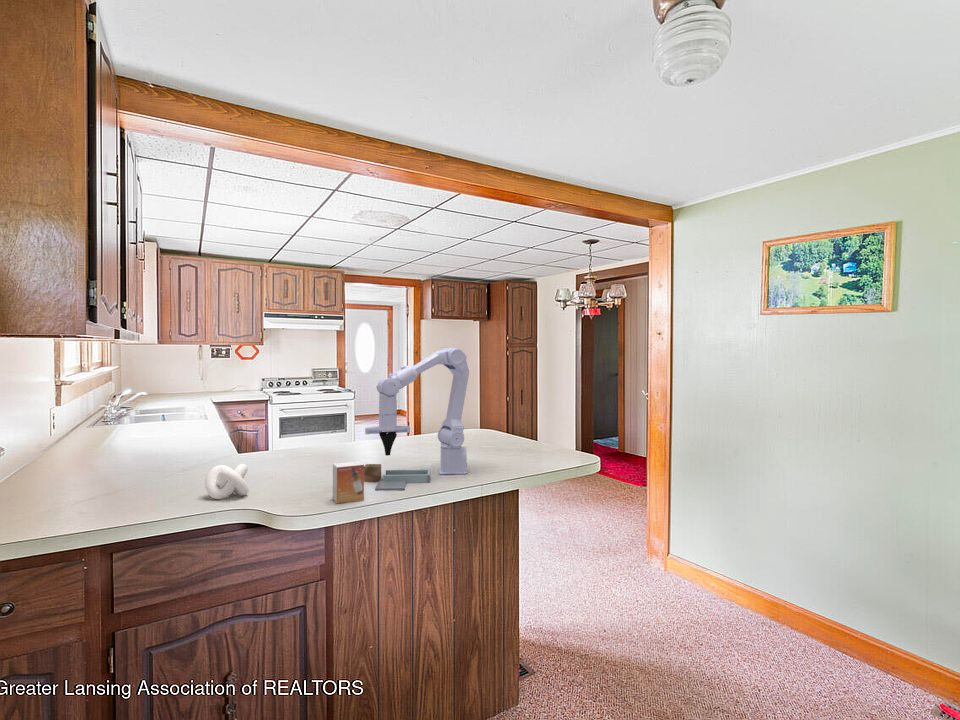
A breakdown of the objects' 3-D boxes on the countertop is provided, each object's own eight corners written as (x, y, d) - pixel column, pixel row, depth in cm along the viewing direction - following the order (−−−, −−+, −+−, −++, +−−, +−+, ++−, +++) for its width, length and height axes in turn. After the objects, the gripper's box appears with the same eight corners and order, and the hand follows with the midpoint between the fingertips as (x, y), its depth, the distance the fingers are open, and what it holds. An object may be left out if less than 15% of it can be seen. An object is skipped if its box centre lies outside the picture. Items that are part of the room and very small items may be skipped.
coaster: (406, 482, 162) (406, 480, 162) (404, 490, 153) (404, 488, 153) (379, 482, 161) (379, 480, 161) (375, 490, 152) (375, 488, 152)
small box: (336, 504, 139) (336, 467, 139) (332, 498, 144) (332, 463, 144) (364, 500, 143) (364, 464, 142) (359, 495, 148) (359, 460, 147)
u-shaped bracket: (430, 476, 168) (430, 469, 168) (429, 482, 161) (429, 475, 161) (385, 477, 167) (385, 470, 167) (383, 483, 160) (383, 475, 160)
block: (381, 478, 166) (381, 464, 166) (378, 482, 162) (378, 467, 162) (366, 478, 166) (366, 464, 166) (363, 482, 162) (363, 467, 162)
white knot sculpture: (261, 494, 148) (261, 464, 148) (222, 505, 138) (222, 473, 137) (239, 488, 154) (239, 459, 154) (200, 498, 144) (200, 467, 144)
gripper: (407, 411, 169) (407, 451, 169) (364, 413, 165) (364, 453, 165) (411, 414, 162) (411, 455, 163) (366, 416, 158) (366, 458, 158)
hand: (387, 454), depth 163 cm, fingers closed
